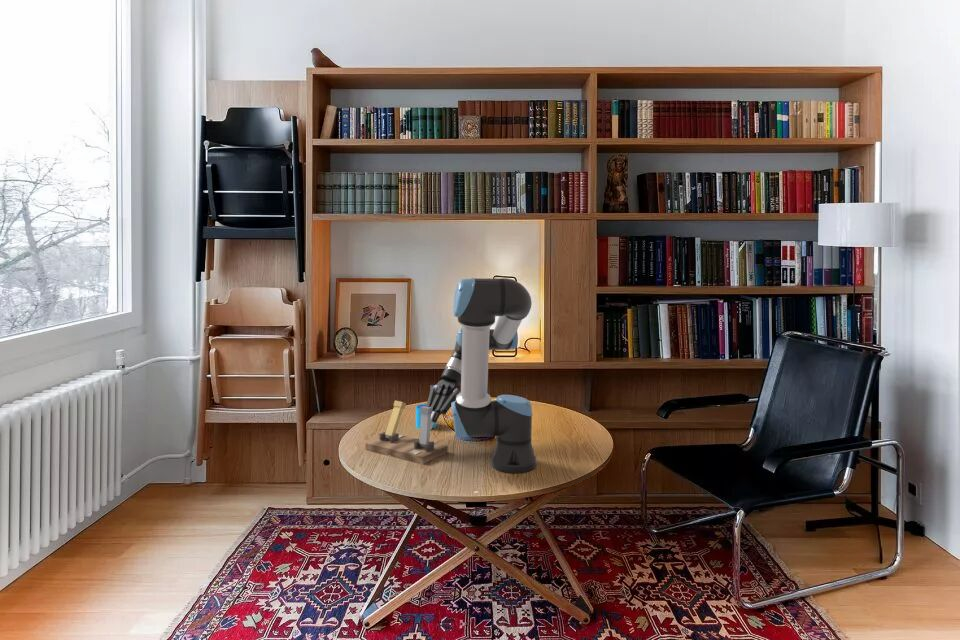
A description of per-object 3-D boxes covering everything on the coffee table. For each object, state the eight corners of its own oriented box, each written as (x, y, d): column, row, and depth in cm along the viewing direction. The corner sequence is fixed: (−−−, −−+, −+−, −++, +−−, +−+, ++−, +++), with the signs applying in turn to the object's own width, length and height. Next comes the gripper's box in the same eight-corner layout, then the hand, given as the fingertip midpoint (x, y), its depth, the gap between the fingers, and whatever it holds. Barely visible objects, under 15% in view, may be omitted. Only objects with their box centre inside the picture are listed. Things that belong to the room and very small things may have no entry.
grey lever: (430, 447, 227) (432, 407, 226) (426, 448, 225) (428, 408, 224) (422, 445, 229) (424, 406, 228) (417, 446, 227) (420, 407, 226)
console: (447, 452, 230) (447, 439, 230) (423, 464, 219) (423, 450, 218) (391, 439, 244) (391, 426, 244) (365, 449, 233) (365, 436, 232)
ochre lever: (394, 440, 235) (406, 403, 239) (390, 439, 233) (402, 401, 237) (386, 438, 237) (398, 402, 241) (382, 437, 235) (394, 400, 239)
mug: (436, 429, 257) (436, 409, 256) (416, 430, 256) (415, 409, 255) (435, 420, 269) (435, 401, 267) (415, 421, 268) (415, 401, 267)
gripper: (472, 380, 239) (446, 437, 228) (443, 375, 246) (416, 430, 235) (464, 369, 234) (436, 427, 223) (435, 365, 241) (407, 420, 230)
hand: (426, 428), depth 229 cm, fingers closed
